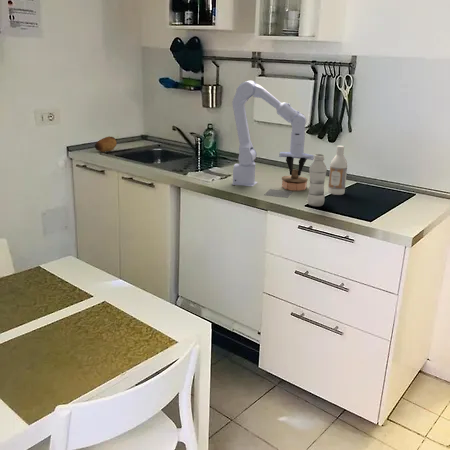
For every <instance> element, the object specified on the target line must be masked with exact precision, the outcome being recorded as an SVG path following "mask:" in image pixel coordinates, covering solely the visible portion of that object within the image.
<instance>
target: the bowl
mask: <svg viewBox="0 0 450 450" xmlns="http://www.w3.org/2000/svg"><path fill="white" fill-rule="evenodd" d="M281 180H282V179H281ZM307 186H308V181H307V182H288V181H284V180H282V182H281V187H282V188H283V189H285V190H286V191H293V192H294V191H296V192H297V191H304V190H306V189H307Z"/></svg>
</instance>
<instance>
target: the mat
mask: <svg viewBox="0 0 450 450" xmlns="http://www.w3.org/2000/svg"><path fill="white" fill-rule="evenodd" d="M292 194H293V190H283V189H282V190H281V189H275V188H274V189H273V188H270V189H268V190H267V191H266V192H265V193H264V196H268V197H277V198H286V199H288V198H289V197H290V196H291V195H292Z"/></svg>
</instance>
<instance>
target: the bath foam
mask: <svg viewBox="0 0 450 450" xmlns="http://www.w3.org/2000/svg"><path fill="white" fill-rule="evenodd" d="M344 151H345V146H344V145H337V146H336V154H335V156H334V157H333V158H332V159H331V162H330V164H329V174H328V175H329V176H328V186H327V193H329V194H331V195H333V196H334V195H335V196H342V195H344V194H345V190H346V182H347V172H348V162H347V159H346V157H345V155H344V153H345V152H344Z"/></svg>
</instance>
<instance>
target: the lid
mask: <svg viewBox="0 0 450 450" xmlns="http://www.w3.org/2000/svg"><path fill="white" fill-rule="evenodd" d="M298 170H299V169H294V168H293V170H292V175H284V176H283V175H282V176H281V180H284V181H288V182H307V183H308V181H309V180H308V178H307V177H304V176H298Z"/></svg>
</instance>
